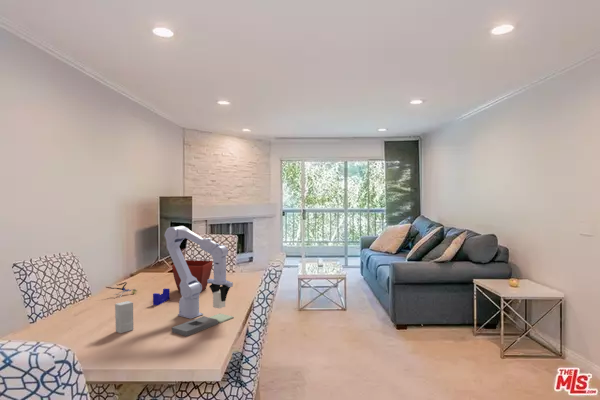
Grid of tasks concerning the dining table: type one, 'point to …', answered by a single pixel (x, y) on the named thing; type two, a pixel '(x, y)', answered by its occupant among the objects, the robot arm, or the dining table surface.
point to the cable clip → (161, 297)
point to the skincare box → (124, 316)
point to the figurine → (123, 289)
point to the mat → (221, 317)
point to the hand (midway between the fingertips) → (220, 300)
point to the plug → (218, 300)
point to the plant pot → (196, 272)
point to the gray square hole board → (190, 326)
